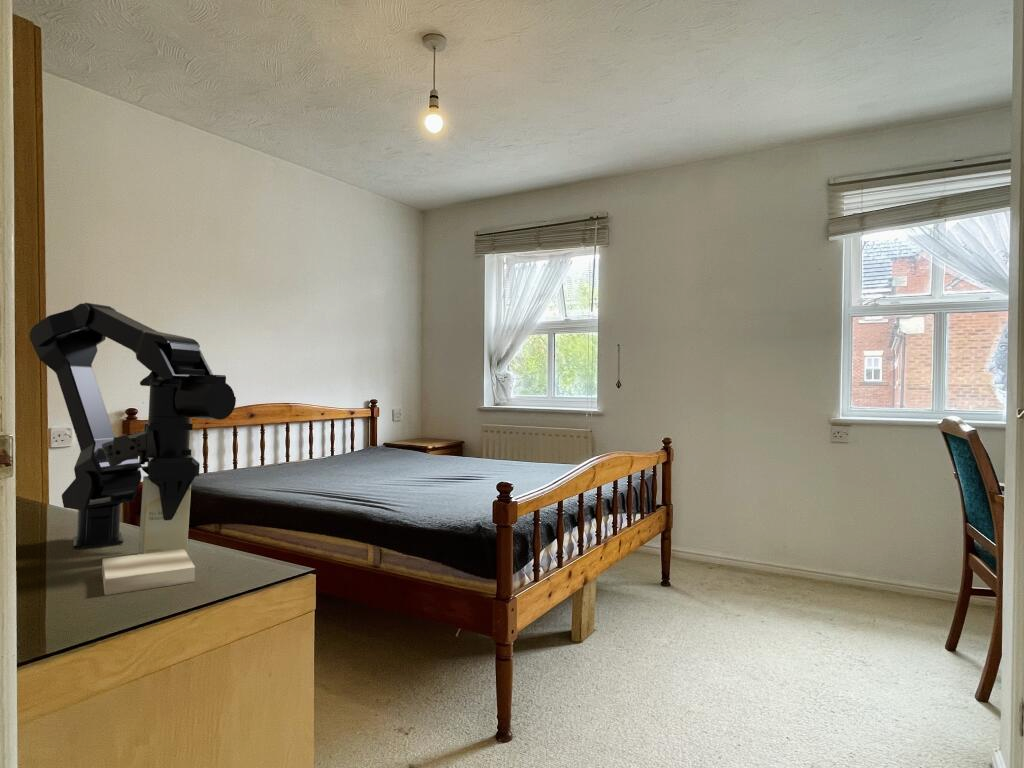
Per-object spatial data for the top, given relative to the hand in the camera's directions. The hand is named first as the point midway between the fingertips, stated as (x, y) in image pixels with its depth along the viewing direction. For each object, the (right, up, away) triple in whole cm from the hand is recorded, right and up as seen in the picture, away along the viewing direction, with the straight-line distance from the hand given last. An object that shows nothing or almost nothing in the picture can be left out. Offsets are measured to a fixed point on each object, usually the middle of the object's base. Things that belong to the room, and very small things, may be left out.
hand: (165, 515), depth 90 cm
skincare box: (0, -6, 0) cm, 6 cm away
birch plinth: (+4, -6, -11) cm, 13 cm away
